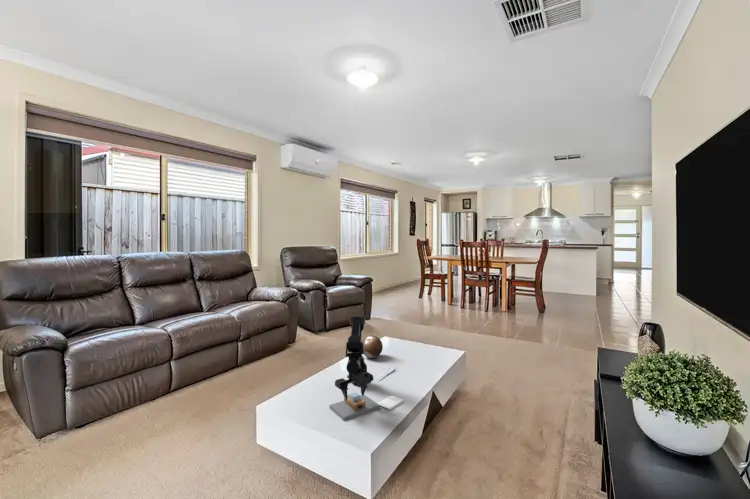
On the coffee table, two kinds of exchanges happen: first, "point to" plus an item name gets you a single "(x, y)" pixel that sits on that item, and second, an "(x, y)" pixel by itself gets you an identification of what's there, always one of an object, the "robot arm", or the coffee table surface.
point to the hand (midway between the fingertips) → (354, 397)
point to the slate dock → (348, 413)
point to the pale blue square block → (354, 396)
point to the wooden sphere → (372, 346)
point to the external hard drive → (390, 402)
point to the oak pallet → (354, 403)
